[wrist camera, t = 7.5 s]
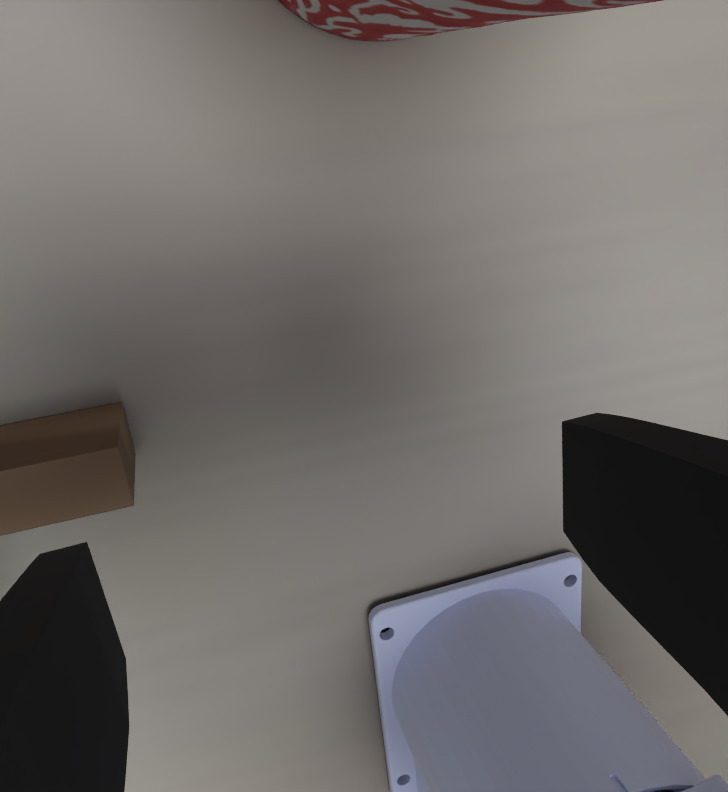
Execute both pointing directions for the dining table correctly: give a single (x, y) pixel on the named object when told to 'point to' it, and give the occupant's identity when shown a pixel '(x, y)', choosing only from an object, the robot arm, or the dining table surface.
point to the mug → (430, 14)
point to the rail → (65, 467)
